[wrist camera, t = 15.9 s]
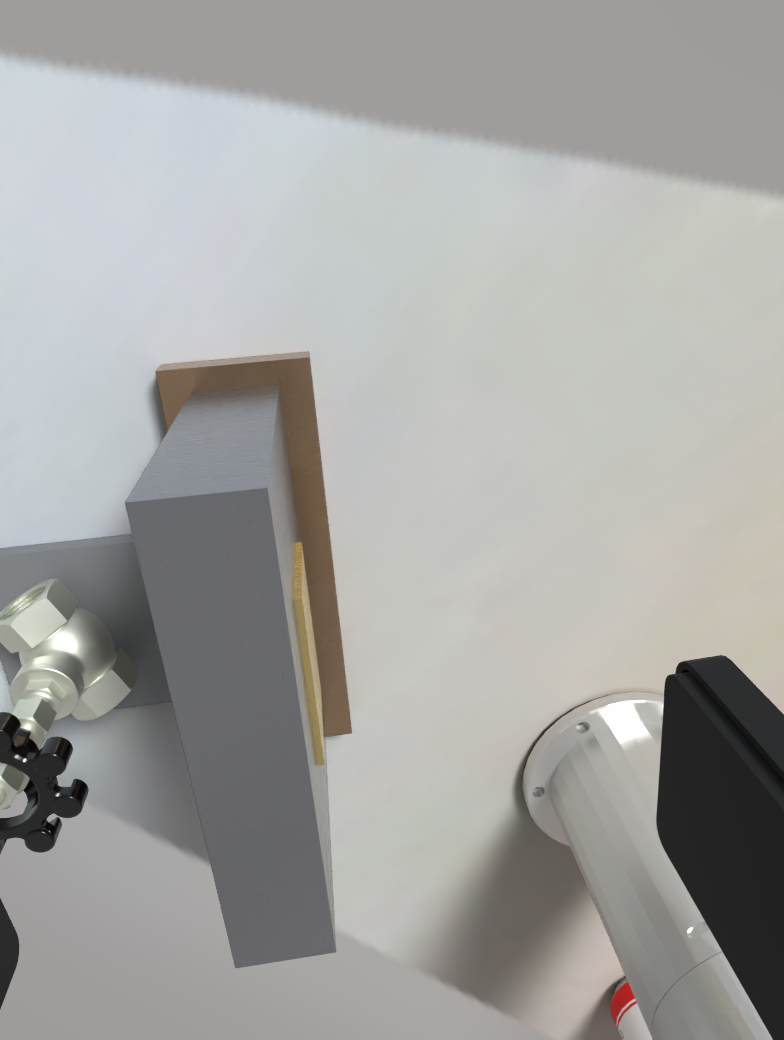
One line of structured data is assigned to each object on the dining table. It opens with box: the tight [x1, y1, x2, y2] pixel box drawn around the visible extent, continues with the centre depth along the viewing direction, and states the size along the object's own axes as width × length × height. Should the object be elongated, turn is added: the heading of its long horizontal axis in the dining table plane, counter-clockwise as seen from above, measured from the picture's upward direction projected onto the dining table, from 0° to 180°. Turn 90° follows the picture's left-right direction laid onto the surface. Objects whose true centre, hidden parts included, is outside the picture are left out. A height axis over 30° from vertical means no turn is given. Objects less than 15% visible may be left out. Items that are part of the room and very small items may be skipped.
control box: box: [125, 352, 352, 968], centre depth 31 cm, size 7×22×16 cm, turn 4°
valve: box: [0, 579, 139, 853], centre depth 32 cm, size 7×7×12 cm
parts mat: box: [0, 534, 172, 715], centre depth 38 cm, size 10×10×1 cm
